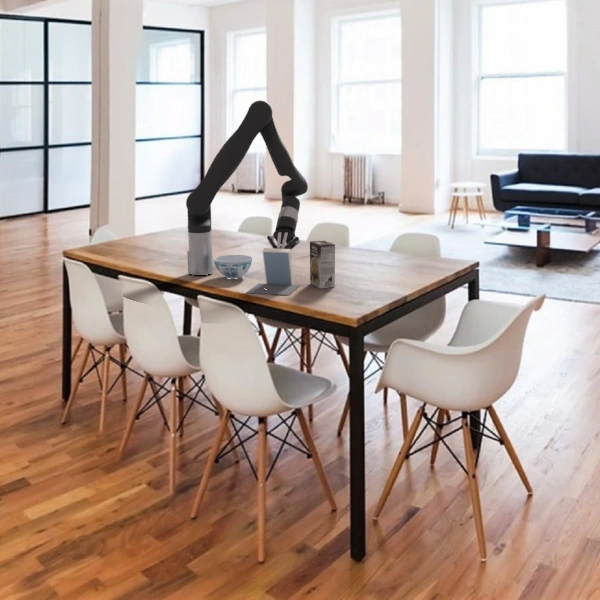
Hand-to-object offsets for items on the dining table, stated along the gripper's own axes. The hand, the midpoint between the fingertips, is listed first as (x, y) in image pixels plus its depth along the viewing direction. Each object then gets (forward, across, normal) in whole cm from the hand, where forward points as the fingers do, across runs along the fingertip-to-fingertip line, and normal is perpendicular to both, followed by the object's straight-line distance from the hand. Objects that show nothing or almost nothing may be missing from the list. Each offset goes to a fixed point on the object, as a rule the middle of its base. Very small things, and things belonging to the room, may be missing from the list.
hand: (279, 258), depth 269 cm
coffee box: (+6, +16, +8) cm, 19 cm away
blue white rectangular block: (+6, 0, +7) cm, 10 cm away
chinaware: (+2, -21, +13) cm, 25 cm away
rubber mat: (+13, 0, +1) cm, 13 cm away
